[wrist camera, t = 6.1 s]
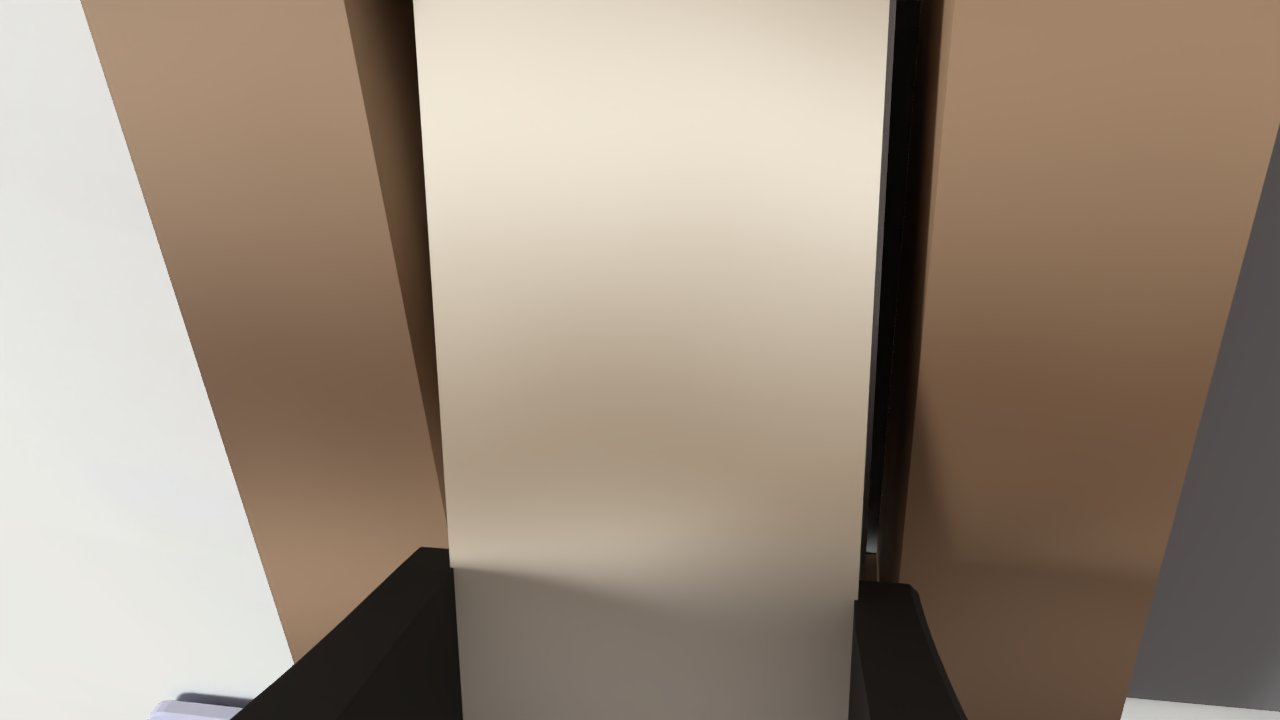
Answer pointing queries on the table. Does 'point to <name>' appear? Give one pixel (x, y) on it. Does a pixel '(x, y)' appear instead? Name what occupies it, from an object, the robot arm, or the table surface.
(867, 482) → the tipping switch rocker
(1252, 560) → the slate mat
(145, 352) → the table surface
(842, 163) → the birch bar
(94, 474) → the table surface
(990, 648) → the walnut board
